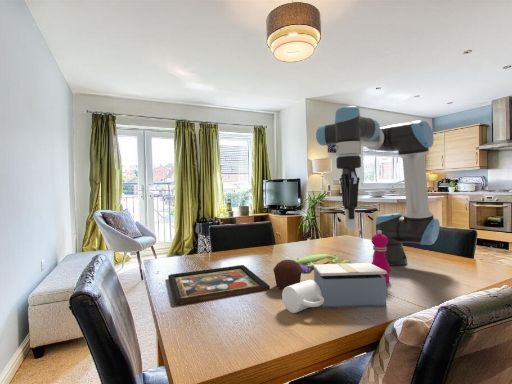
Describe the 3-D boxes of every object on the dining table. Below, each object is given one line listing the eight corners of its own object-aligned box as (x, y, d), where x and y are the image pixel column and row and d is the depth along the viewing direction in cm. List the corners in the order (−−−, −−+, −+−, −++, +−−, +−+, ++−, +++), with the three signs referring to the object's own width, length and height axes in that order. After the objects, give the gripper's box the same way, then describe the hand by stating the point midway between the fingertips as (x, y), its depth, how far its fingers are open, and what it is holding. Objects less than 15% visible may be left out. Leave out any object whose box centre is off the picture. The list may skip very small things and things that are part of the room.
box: (369, 289, 105) (369, 265, 105) (386, 306, 91) (385, 278, 91) (314, 291, 106) (313, 267, 106) (322, 307, 92) (321, 279, 92)
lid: (369, 265, 105) (369, 262, 105) (387, 274, 91) (386, 270, 91) (313, 266, 106) (312, 264, 106) (321, 275, 91) (321, 272, 91)
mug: (282, 308, 93) (281, 283, 93) (304, 300, 99) (303, 276, 98) (309, 322, 83) (308, 294, 83) (332, 312, 89) (331, 286, 89)
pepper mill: (389, 277, 118) (388, 228, 117) (391, 283, 111) (390, 231, 110) (370, 276, 120) (369, 228, 119) (371, 282, 113) (370, 231, 112)
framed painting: (178, 312, 94) (177, 303, 93) (159, 281, 125) (159, 275, 125) (278, 289, 111) (277, 282, 111) (240, 268, 142) (240, 262, 142)
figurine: (353, 273, 127) (352, 260, 126) (291, 274, 127) (291, 261, 127) (341, 261, 145) (341, 250, 145) (288, 262, 146) (288, 251, 146)
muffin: (295, 294, 104) (294, 266, 104) (268, 289, 110) (267, 262, 110) (307, 283, 114) (307, 258, 114) (282, 279, 120) (281, 255, 120)
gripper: (331, 158, 100) (333, 226, 101) (342, 154, 87) (344, 232, 88) (353, 157, 100) (355, 225, 101) (367, 153, 87) (369, 231, 88)
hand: (350, 228), depth 94 cm, fingers closed
